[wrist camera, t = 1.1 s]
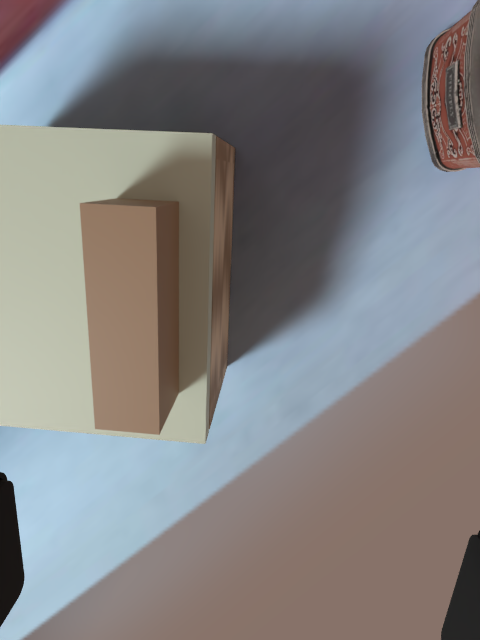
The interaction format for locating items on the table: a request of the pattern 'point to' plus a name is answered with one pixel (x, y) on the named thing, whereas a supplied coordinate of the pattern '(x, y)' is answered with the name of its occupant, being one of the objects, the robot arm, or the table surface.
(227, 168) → the wooden box
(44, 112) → the table surface
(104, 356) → the lid
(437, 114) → the lighter
